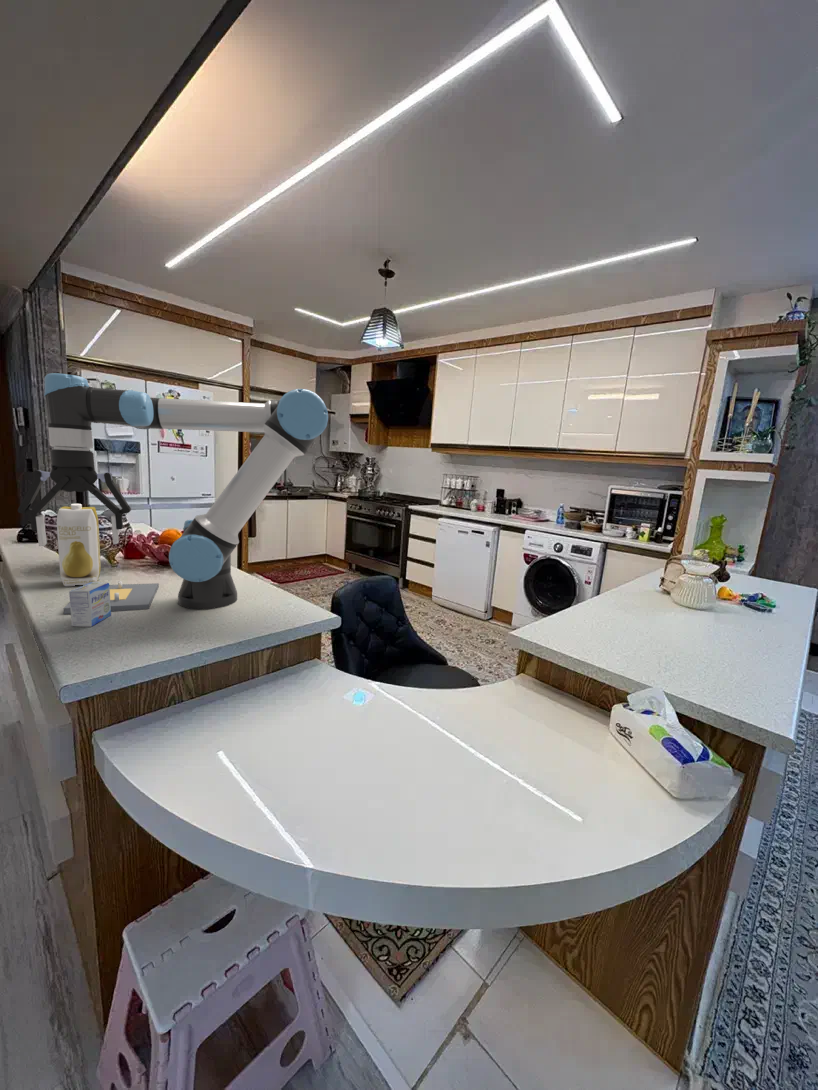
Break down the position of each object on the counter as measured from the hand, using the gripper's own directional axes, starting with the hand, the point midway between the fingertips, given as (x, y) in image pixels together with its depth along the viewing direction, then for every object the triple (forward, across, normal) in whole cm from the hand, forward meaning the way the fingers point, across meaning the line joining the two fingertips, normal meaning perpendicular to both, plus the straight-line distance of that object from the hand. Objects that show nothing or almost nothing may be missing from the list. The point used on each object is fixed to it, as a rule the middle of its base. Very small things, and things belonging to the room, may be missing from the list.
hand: (80, 544), depth 100 cm
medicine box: (+19, -1, 0) cm, 19 cm away
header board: (+19, -4, -16) cm, 25 cm away
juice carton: (+19, +7, -35) cm, 40 cm away
